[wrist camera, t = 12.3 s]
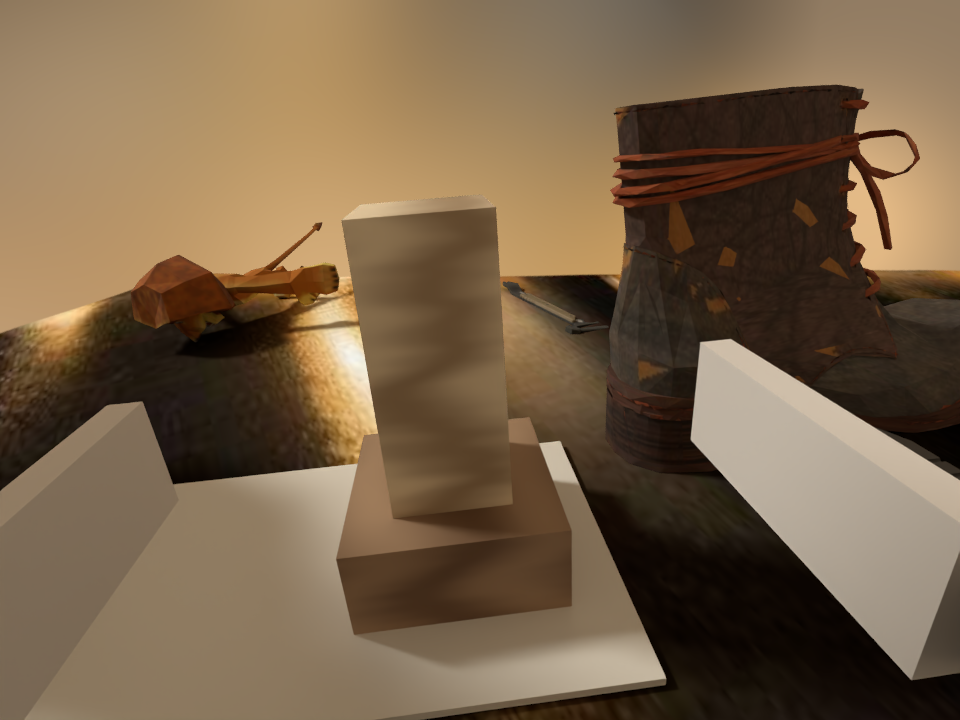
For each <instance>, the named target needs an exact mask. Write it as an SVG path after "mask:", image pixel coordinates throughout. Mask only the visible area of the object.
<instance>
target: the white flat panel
mask: <svg viewBox="0 0 960 720" xmlns="http://www.w3.org/2000/svg"><path fill="white" fill-rule="evenodd" d="M539 444H540V447H541V450H542V452H543V455H544V458H545V460H546V463H547V466H548V468H549V471H550V474H551V476H552V479H553V482H554V484H555V487H556V490H557V492H558V495H559V498H560V500H561V503H562V506H563V508H564V511H565V514H566V516H567V519H568V522H569V524H570V527H571V530H572V606H570V607H562V608H554V609H547V610H539V611H531V612H524V613H516V614H509V615H501V616H493V617H486V618H478V619H471V620H463V621H455V622H448V623H440V624H433V625H425V626H417V627H410V628H402V629H395V630H387V631H379V632H372V633H364V634H357V635H354V634H353V629H352V625H351V621H350V617H349V612H348V608H347V604H346V600H345V595H344V591H343V587H342V583H341V578H340V574H339V570H338V566H337V561H336V557H337V552H338V548H339V544H340V539H341V535H342V530H343V526H344V522H345V517H346V513H347V508H348V504H349V500H350V495H351V491H352V486H353V482H354V478H355V473H356V469H357V464H352V465H343V466H334V467H325V468H316V469H307V470H298V471H289V472H281V473H272V474H263V475H254V476H245V477H236V478H227V479H218V480H209V481H200V482H192V483H183V484H174V485H173V486H174V488H175V491H176V494H177V497H178V499H179V501H178V502H177V504H176V505H175V507H174V508H173V510H172V511H171V512H170V514H169V515H168V517H167V518H166V519H165V521H164V522H163V524H162V525H161V527H160V528H159V529H158V531H157V532H156V534H155V535H154V536H153V538H152V539H151V541H150V542H149V544H148V545H147V546H146V548H145V549H144V551H143V552H142V553H141V555H140V556H139V558H138V559H137V561H136V562H135V563H134V565H133V566H132V568H131V569H130V570H129V572H128V573H127V575H126V576H125V578H124V579H123V580H122V582H121V583H120V585H119V586H118V587H117V589H116V590H115V592H114V593H113V595H112V596H111V597H110V599H109V600H108V602H107V603H106V604H105V606H104V607H103V609H102V610H101V612H100V613H99V614H98V616H97V617H96V619H95V620H94V621H93V623H92V624H91V626H90V627H89V629H88V630H87V631H86V633H85V634H84V636H83V637H82V638H81V640H80V641H79V643H78V644H77V646H76V647H75V648H74V650H73V651H72V653H71V654H70V655H69V657H68V658H67V660H66V661H65V663H64V664H63V665H62V667H61V668H60V670H59V671H58V672H57V674H56V675H55V677H54V678H53V680H52V681H51V682H50V684H49V685H48V687H47V688H46V689H45V691H44V692H43V694H42V695H41V697H40V698H39V699H38V701H37V702H36V704H35V705H34V706H33V708H32V709H31V711H30V712H29V714H28V715H27V716H26V718H25V719H24V720H423V719H430V718H437V717H444V716H451V715H458V714H465V713H472V712H479V711H486V710H493V709H500V708H507V707H514V706H521V705H528V704H535V703H543V702H550V701H557V700H564V699H571V698H578V697H585V696H592V695H599V694H606V693H613V692H620V691H627V690H634V689H641V688H648V687H655V686H662V685H666V676H665V674H664V672H663V670H662V668H661V665H660V663H659V661H658V659H657V656H656V654H655V652H654V650H653V648H652V645H651V643H650V641H649V639H648V636H647V634H646V632H645V630H644V627H643V625H642V623H641V621H640V619H639V616H638V614H637V612H636V610H635V607H634V605H633V603H632V601H631V599H630V596H629V594H628V592H627V590H626V587H625V585H624V583H623V581H622V578H621V576H620V574H619V572H618V570H617V567H616V565H615V563H614V561H613V558H612V556H611V554H610V552H609V549H608V547H607V545H606V543H605V541H604V538H603V536H602V534H601V532H600V529H599V527H598V525H597V523H596V521H595V518H594V516H593V514H592V512H591V509H590V507H589V505H588V503H587V500H586V498H585V496H584V494H583V492H582V489H581V487H580V485H579V483H578V480H577V478H576V476H575V474H574V471H573V469H572V467H571V465H570V463H569V460H568V458H567V456H566V454H565V451H564V449H563V447H562V445H561V443H560V441H557V442H548V443H539Z"/></svg>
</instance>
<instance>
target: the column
mask: <svg viewBox="0 0 960 720" xmlns="http://www.w3.org/2000/svg"><path fill="white" fill-rule="evenodd" d="M496 220H497V219H496V207H495V206H494V205H493V204H492V203H491V202H489V201H488V200H487V199H486V198H485V197H483V196H482V195H471V196H458V197H447V198H435V199H423V200H410V201H398V202H387V203H374V204H362V205H360V206H358V207H357V208H356V209H355V210H353V211H352V212H351V213H350V214H349V215H347V216H346V217H345V218H344V219H342V226H343V231H344V238H345V243H346V249H347V255H348V261H349V265H350V272H351V278H352V284H353V290H354V296H355V302H356V307H357V313H358V319H359V325H360V331H361V336H362V342H363V348H364V354H365V360H366V365H367V371H368V377H369V383H370V389H371V394H372V400H373V406H374V412H375V418H376V423H377V429H378V435H379V441H380V447H381V452H382V458H383V464H384V470H385V476H386V481H387V487H388V493H389V499H390V505H391V510H392V516H393V518H402V517H410V516H419V515H427V514H435V513H444V512H452V511H461V510H469V509H477V508H486V507H494V506H503V505H511V504H513V498H512V481H511V463H510V446H509V428H508V411H507V393H506V376H505V358H504V341H503V323H502V306H501V289H500V272H499V254H498V236H497V221H496Z"/></svg>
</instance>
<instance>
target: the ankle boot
mask: <svg viewBox="0 0 960 720" xmlns="http://www.w3.org/2000/svg"><path fill="white" fill-rule="evenodd" d="M862 94H863V89H857V88H855V87H849V86H842V85H821V86H804V87H788V88H778V89H769V90H760V91H752V92H744V93H735V94H726V95H717V96H709V97H701V98H692V99H683V100H675V101H666V102H658V103H649V104H639V105H631V106H626V107H620V108H616V109H615V111H616V113H614V115H615V114H616V119H617V128H618V141H619V153H620V155H619V156H617V157H615V158H613V160H614V162H620V166H621V168H619V169H617V171H616V172H615V173H614V175H613V177H615V178H619V179H622V183H620V184H619V185H617V186H616V187H614V188H613V189H611V190H610V191H611V192H612V194H613V195H614V197H615V199H614V201H613V203H614V204H617V205H622V206H624V217H625V228H626V229H625V230H626V243H624V254H623V266H622V271H621V277H620V282H619V288H618V294H617V299H616V305H615V310H614V315H613V319H612V323H611V327H610V331H609V338H610V355H611V363H610V365H609V367H608V370H607V405H606V440H607V442H608V443H609V445H610V446H611V447H612V449H613V450H614V452H615V453H617V454H618V455H619V456H621V457H622V458H623V459H625V460H626V461H627V462H628V463H630V464H633V465H636V466H639V467H642V468H646V469H649V470H652V471H655V472H659V473H679V472H709V471H713V470H717V468H716V467H715V466H714V465H713V464H712V462H711V461H710V460H709V459H708V458H707V457H706V456H705V455H704V454H703V453H702V452H701V450H700V449H699V448H698V447H697V446H696V445H695V444H694V443H693V442H692V441H691V431H692V421H693V411H694V401H695V391H696V381H697V371H698V362H699V352H700V342H708V341H717V340H726V339H731V340H733V341H735V342H736V343H738V344H740V345H741V346H743V347H744V348H746V349H748V350H749V351H751V352H753V353H754V354H756V355H757V356H759V357H761V358H762V359H764V360H766V361H767V362H769V363H770V364H772V365H774V366H775V367H777V368H778V369H780V370H782V371H783V372H785V373H787V374H788V375H790V376H791V377H793V378H795V379H796V380H798V381H800V382H801V383H803V384H804V385H806V386H808V387H809V388H811V389H813V390H814V391H816V392H817V393H819V394H821V395H822V396H824V397H826V398H827V399H829V400H830V401H832V402H834V403H835V404H837V405H838V406H840V407H842V408H843V409H845V410H847V411H848V412H850V413H851V414H853V415H855V416H856V417H858V418H860V419H861V420H863V421H864V422H866V423H868V424H869V425H871V426H873V427H874V428H879V429H881V430H887V431H897V432H911V433H918V432H924V431H930V430H936V429H941V428H945V427H948V426H952V425H956V424H959V423H960V300H943V299H922V298H913V299H909V300H906V301H902V302H898V303H895V304H891V305H888V306H884V307H883V306H882V304H881V303H880V302H879V301H878V300H877V298H876V296H875V294H874V293H875V292H876V291H878V290H879V289H880V284H881V281H880V278H879V277H878V276H877V275H876V273H875V272H874V271H872V270H869V269H865V268H863V267H862V265H861V263H860V261H861V258H862V256H863V254H864V252H865V248H864V247H863V245H862V244H860V243H858V242H855V241H854V239H853V236H852V232H851V228H850V227H851V226H853V225H854V224H855V222H856V216H857V215H855V214H854V213H852V212H850V211H848V209H847V191H851V190H854V188H855V186H856V184H857V183H855V182H853V181H850V180H849V178H848V169H849V163H850V160H851V161H852V162H853V164H854V165H855V166H856V168H857V169H858V170H859V172H860V173H861V176H862V178H863V180H864V183H865V185H866V187H867V190H868V192H869V195H870V197H871V200H872V202H873V204H874V207H875V209H876V213H877V217H878V222H879V226H880V231H881V235H882V240H883V245H884V249H889V250H891V249H892V244H891V237H890V229H889V223H888V216H887V213H886V209H885V206H884V203H883V200H882V196H881V193H880V190H879V189H878V187H877V185H876V183H875V182H874V180H873V178H872V176H873V177H877V178H880V179H887V178H890V177H893V176H897V175H900V174H903V173H906V172H908V171H909V170H910V169H911V168H912V167H913V166H914V165H915V164H916V162H917V161H918V160H919V159H920V157H919V153H918V150H917V146H916V144H915V143H914V141H913V140H912V139H911V138H910V136H909V135H907V134H906V133H905V132H902V131H899V130H895V129H894V130H880V131H869V132H866V133H863V134H860V135H859V133H854V129H855V123H856V118H857V113H858V110H859V109H865V108H866V107H867V105H868V104H869V102H867V101H864V100H861V98H862ZM894 135H897V136H901V137H905V138H906V139H907V142H908V144H909V146H910V148H911V150H912V152H913V154H914V156H915V159H914V161H913V164H912V165H910V166H909V167H908V168H907V169H906V170H904V171H903V172H900V173H896V174H895V173H891V172H888V171H885V170H881V169H878V168H874V167H871V166H870V164H869V163H868V162H867V161H866V160H865V158H864V157H863V156H862V155H861V154H860V150H859V146H858V145H859V144H860V143H859V142H858V141H860V140H865V139H868V138H875V137H885V136H894ZM867 276H869V277H871V279H872V280H873V282H874V284H873V285H872V286H871V284H870V282H869V280H868V278H867ZM636 412H637V413H636ZM661 419H664V420H661ZM676 420H677V421H676ZM687 420H691V421H687Z"/></svg>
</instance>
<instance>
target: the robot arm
mask: <svg viewBox="0 0 960 720" xmlns="http://www.w3.org/2000/svg"><path fill="white" fill-rule="evenodd" d="M691 441H692V442H693V443H694V444H695V445H696V446H697V447H698V448H699V449H700V450H701V452H702V453H703V454H704V455H705V456H706V457H707V458H708V459H709V460H710V461H711V462H712V464H713V465H714V466H715V467H716V468H717V469H718V470H719V471H720V472H721V473H722V474H723V476H724V477H725V478H726V479H727V480H728V481H729V482H730V483H731V484H732V485H733V486H734V488H735V489H736V490H737V491H738V492H739V493H740V494H741V495H742V496H743V497H744V498H745V500H746V501H747V502H748V503H749V504H750V505H751V506H752V507H753V508H754V509H755V510H756V511H757V513H758V514H759V515H760V516H761V517H762V518H763V519H764V520H765V521H766V522H767V523H768V525H769V526H770V527H771V528H772V529H773V530H774V531H775V532H776V533H777V534H778V535H779V537H780V538H781V539H782V540H783V541H784V542H785V543H786V544H787V545H788V546H789V547H790V549H791V550H792V551H793V552H794V553H795V554H796V555H797V556H798V557H799V558H800V559H801V561H802V562H803V563H804V564H805V565H806V566H807V567H808V568H809V569H810V570H811V571H812V573H813V574H814V575H815V576H816V577H817V578H818V579H819V580H820V581H821V582H822V583H823V585H824V586H825V587H826V588H827V589H828V590H829V591H830V592H831V593H832V594H833V595H834V597H835V598H836V599H837V600H838V601H839V602H840V603H841V604H842V605H843V606H844V607H845V609H846V610H847V611H848V612H849V613H850V614H851V615H852V616H853V617H854V618H855V619H856V621H857V622H858V623H859V624H860V625H861V626H862V627H863V628H864V629H865V630H866V631H867V633H868V634H869V635H870V636H871V637H872V638H873V639H874V640H875V641H876V642H877V643H878V644H879V646H880V647H881V648H882V649H883V650H884V651H885V652H886V653H887V654H888V655H889V656H890V658H891V659H892V660H893V661H894V662H895V663H896V664H897V665H898V666H899V667H900V668H901V670H902V671H903V672H904V673H905V674H906V675H907V676H908V677H909V678H910V679H911V680H916V679H923V678H929V677H936V676H942V675H949V674H955V673H960V470H959V469H958V468H956V467H954V466H953V465H951V464H949V463H948V462H946V461H945V462H941V460H940V458H939V457H938V456H936V455H934V454H933V453H931V452H929V451H928V450H926V449H924V448H923V447H921V446H919V445H918V444H916V443H914V442H913V441H910V440H908V439H905V438H902V437H900V436H897V435H895V434H892V433H889V432H887V431H884V430H881V429H879V428H874V427H873V426H871V425H869V424H868V423H866V422H864V421H863V420H861V419H860V418H858V417H856V416H855V415H853V414H851V413H850V412H848V411H847V410H845V409H843V408H842V407H840V406H838V405H837V404H835V403H834V402H832V401H830V400H829V399H827V398H826V397H824V396H822V395H821V394H819V393H817V392H816V391H814V390H813V389H811V388H809V387H808V386H806V385H804V384H803V383H801V382H800V381H798V380H796V379H795V378H793V377H791V376H790V375H788V374H787V373H785V372H783V371H782V370H780V369H778V368H777V367H775V366H774V365H772V364H770V363H769V362H767V361H766V360H764V359H762V358H761V357H759V356H757V355H756V354H754V353H753V352H751V351H749V350H748V349H746V348H744V347H743V346H741V345H740V344H738V343H736V342H735V341H733V340H731V339H726V340H717V341H708V342H700V352H699V362H698V371H697V381H696V391H695V401H694V411H693V421H692V431H691ZM178 501H179V499H178V497H177V494H176V491H175V488H174V486H173V483H172V480H171V478H170V475H169V472H168V470H167V467H166V464H165V461H164V459H163V456H162V453H161V451H160V448H159V445H158V443H157V440H156V437H155V434H154V432H153V429H152V426H151V424H150V421H149V418H148V416H147V413H146V410H145V407H144V405H143V402H135V403H125V404H116V405H107V406H106V407H105V408H103V409H102V410H101V411H100V412H98V413H97V414H96V415H95V416H93V417H92V418H91V419H90V420H88V421H87V422H86V423H85V424H83V425H82V426H81V427H80V428H78V429H77V430H76V431H75V432H73V433H72V434H71V435H70V436H68V437H67V438H66V439H65V440H63V441H62V442H61V443H60V444H58V445H57V446H56V447H55V448H53V449H52V450H51V451H50V452H48V453H47V454H46V455H45V456H43V457H42V458H41V459H40V460H38V461H37V462H36V463H35V464H33V465H32V466H31V467H30V468H28V469H27V470H26V471H25V472H23V473H22V474H21V475H20V476H18V477H17V478H16V479H15V480H13V481H12V482H11V483H10V484H8V485H7V486H6V487H5V488H3V489H2V490H1V491H0V720H24V719H25V718H26V716H27V715H28V714H29V712H30V711H31V709H32V708H33V706H34V705H35V704H36V702H37V701H38V699H39V698H40V697H41V695H42V694H43V692H44V691H45V689H46V688H47V687H48V685H49V684H50V682H51V681H52V680H53V678H54V677H55V675H56V674H57V672H58V671H59V670H60V668H61V667H62V665H63V664H64V663H65V661H66V660H67V658H68V657H69V655H70V654H71V653H72V651H73V650H74V648H75V647H76V646H77V644H78V643H79V641H80V640H81V638H82V637H83V636H84V634H85V633H86V631H87V630H88V629H89V627H90V626H91V624H92V623H93V621H94V620H95V619H96V617H97V616H98V614H99V613H100V612H101V610H102V609H103V607H104V606H105V604H106V603H107V602H108V600H109V599H110V597H111V596H112V595H113V593H114V592H115V590H116V589H117V587H118V586H119V585H120V583H121V582H122V580H123V579H124V578H125V576H126V575H127V573H128V572H129V570H130V569H131V568H132V566H133V565H134V563H135V562H136V561H137V559H138V558H139V556H140V555H141V553H142V552H143V551H144V549H145V548H146V546H147V545H148V544H149V542H150V541H151V539H152V538H153V536H154V535H155V534H156V532H157V531H158V529H159V528H160V527H161V525H162V524H163V522H164V521H165V519H166V518H167V517H168V515H169V514H170V512H171V511H172V510H173V508H174V507H175V505H176V504H177V502H178Z"/></svg>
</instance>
